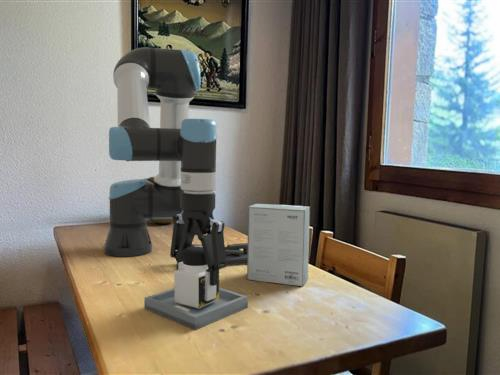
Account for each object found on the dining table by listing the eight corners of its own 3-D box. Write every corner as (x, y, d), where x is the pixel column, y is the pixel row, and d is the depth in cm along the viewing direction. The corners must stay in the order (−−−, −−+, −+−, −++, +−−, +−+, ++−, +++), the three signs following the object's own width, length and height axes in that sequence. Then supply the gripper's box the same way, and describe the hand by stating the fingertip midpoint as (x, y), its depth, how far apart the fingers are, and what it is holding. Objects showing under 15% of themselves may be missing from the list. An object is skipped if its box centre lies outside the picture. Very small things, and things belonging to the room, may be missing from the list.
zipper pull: (172, 242, 131) (248, 236, 142) (172, 263, 132) (248, 256, 143) (181, 249, 123) (261, 242, 134) (181, 272, 124) (260, 263, 135)
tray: (144, 308, 96) (144, 297, 96) (197, 290, 109) (197, 280, 109) (195, 329, 86) (195, 317, 86) (247, 307, 99) (247, 296, 98)
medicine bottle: (199, 309, 93) (198, 253, 91) (173, 302, 96) (173, 248, 95) (219, 299, 98) (219, 246, 97) (195, 293, 102) (194, 242, 101)
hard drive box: (308, 278, 120) (311, 206, 118) (302, 287, 113) (305, 210, 111) (254, 272, 125) (256, 202, 123) (245, 279, 118) (247, 206, 116)
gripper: (153, 188, 98) (153, 287, 101) (221, 197, 85) (219, 311, 88) (179, 186, 104) (178, 280, 107) (246, 194, 91) (243, 301, 94)
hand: (196, 294), depth 97 cm, fingers open, 8 cm apart
